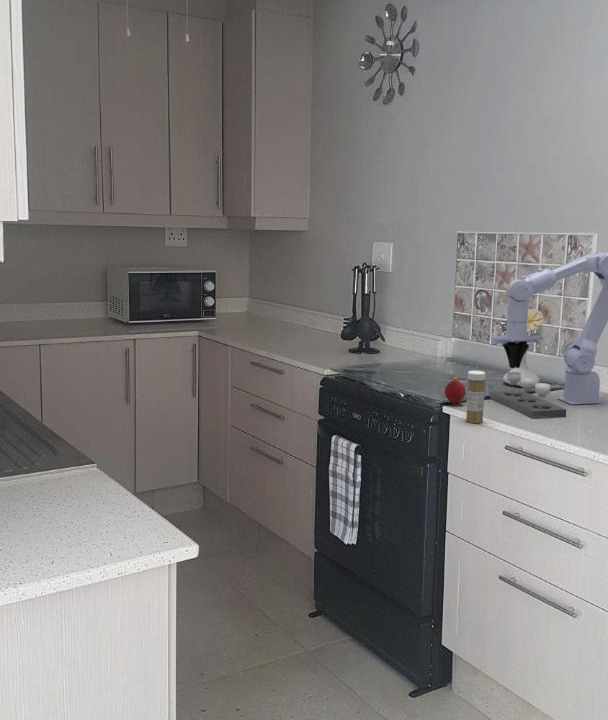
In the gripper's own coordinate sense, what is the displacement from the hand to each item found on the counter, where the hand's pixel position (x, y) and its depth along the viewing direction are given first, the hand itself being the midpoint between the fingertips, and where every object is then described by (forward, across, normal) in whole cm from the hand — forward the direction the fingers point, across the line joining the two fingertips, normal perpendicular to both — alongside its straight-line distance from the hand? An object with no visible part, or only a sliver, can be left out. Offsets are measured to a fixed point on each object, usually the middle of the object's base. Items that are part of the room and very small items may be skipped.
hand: (514, 367), depth 243 cm
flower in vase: (+10, -14, -19) cm, 26 cm away
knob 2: (+5, 0, +16) cm, 17 cm away
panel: (+10, 0, +8) cm, 13 cm away
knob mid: (+5, 0, +8) cm, 9 cm away
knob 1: (+5, 0, 0) cm, 5 cm away
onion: (+10, +19, +1) cm, 22 cm away
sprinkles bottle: (+10, +22, +20) cm, 31 cm away
